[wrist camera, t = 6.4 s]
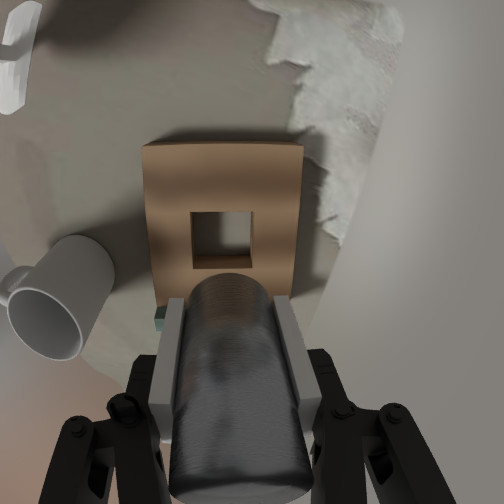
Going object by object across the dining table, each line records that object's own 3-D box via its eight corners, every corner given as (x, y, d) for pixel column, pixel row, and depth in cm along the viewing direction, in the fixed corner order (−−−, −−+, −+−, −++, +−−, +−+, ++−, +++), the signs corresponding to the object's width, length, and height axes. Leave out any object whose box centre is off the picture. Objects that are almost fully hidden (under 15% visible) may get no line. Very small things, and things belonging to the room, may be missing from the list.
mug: (117, 240, 32) (80, 298, 22) (115, 305, 35) (88, 371, 25) (26, 223, 29) (-28, 268, 20) (32, 285, 33) (-10, 339, 23)
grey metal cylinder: (183, 273, 15) (153, 463, 6) (272, 271, 16) (327, 455, 7) (190, 341, 17) (180, 511, 8) (268, 339, 18) (303, 505, 9)
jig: (148, 142, 28) (135, 149, 23) (296, 142, 29) (310, 148, 25) (162, 303, 35) (156, 330, 31) (283, 301, 37) (291, 328, 32)
